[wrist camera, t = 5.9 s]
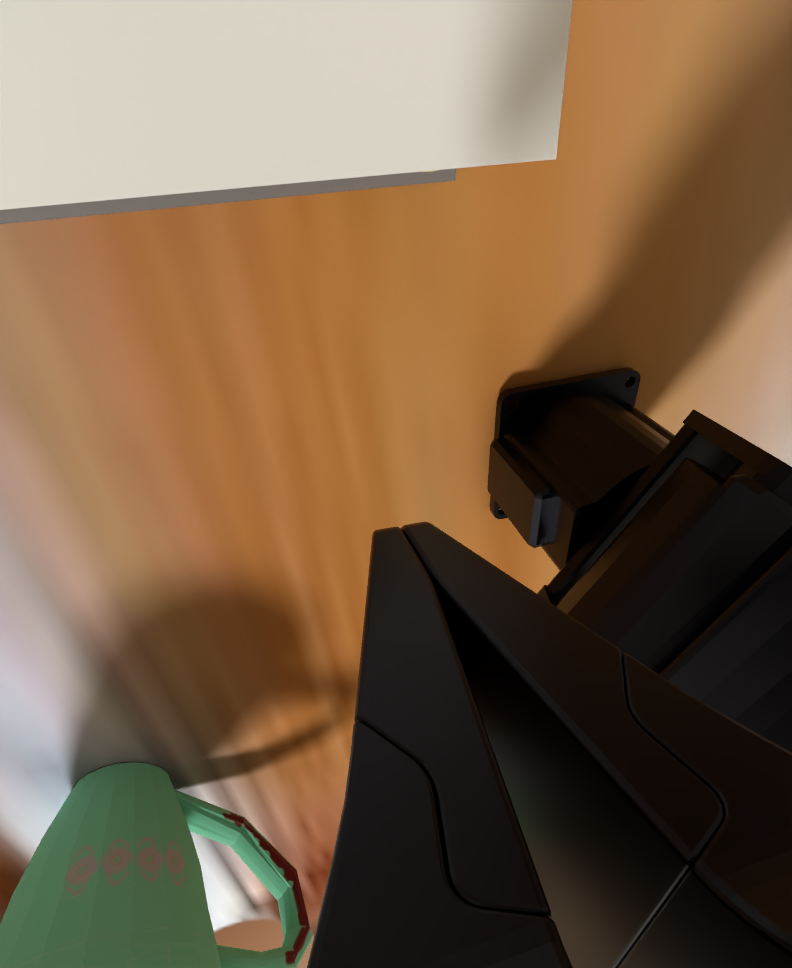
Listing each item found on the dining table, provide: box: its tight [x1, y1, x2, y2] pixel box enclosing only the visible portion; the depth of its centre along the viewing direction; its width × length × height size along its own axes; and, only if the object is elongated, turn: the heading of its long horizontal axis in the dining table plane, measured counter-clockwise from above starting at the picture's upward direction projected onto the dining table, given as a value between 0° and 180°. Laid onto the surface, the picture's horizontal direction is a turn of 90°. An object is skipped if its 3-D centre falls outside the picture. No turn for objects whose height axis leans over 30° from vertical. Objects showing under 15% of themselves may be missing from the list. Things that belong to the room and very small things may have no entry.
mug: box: [0, 762, 312, 968], centre depth 27 cm, size 15×10×10 cm
